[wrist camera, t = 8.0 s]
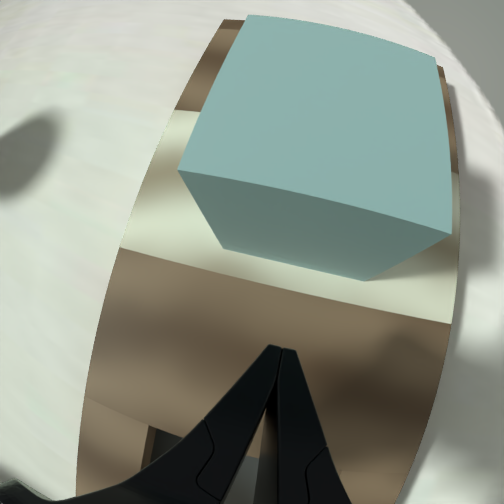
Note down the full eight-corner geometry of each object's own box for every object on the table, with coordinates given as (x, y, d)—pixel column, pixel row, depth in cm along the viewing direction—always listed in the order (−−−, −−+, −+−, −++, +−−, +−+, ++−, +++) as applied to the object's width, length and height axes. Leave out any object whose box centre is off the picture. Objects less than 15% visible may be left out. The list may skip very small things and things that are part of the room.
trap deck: (337, 571, 11) (341, 587, 9) (88, 509, 13) (75, 521, 11) (434, 82, 20) (442, 67, 18) (226, 36, 21) (223, 19, 20)
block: (363, 281, 14) (451, 234, 7) (223, 248, 15) (177, 169, 7) (378, 158, 16) (435, 57, 8) (257, 131, 17) (248, 14, 9)
